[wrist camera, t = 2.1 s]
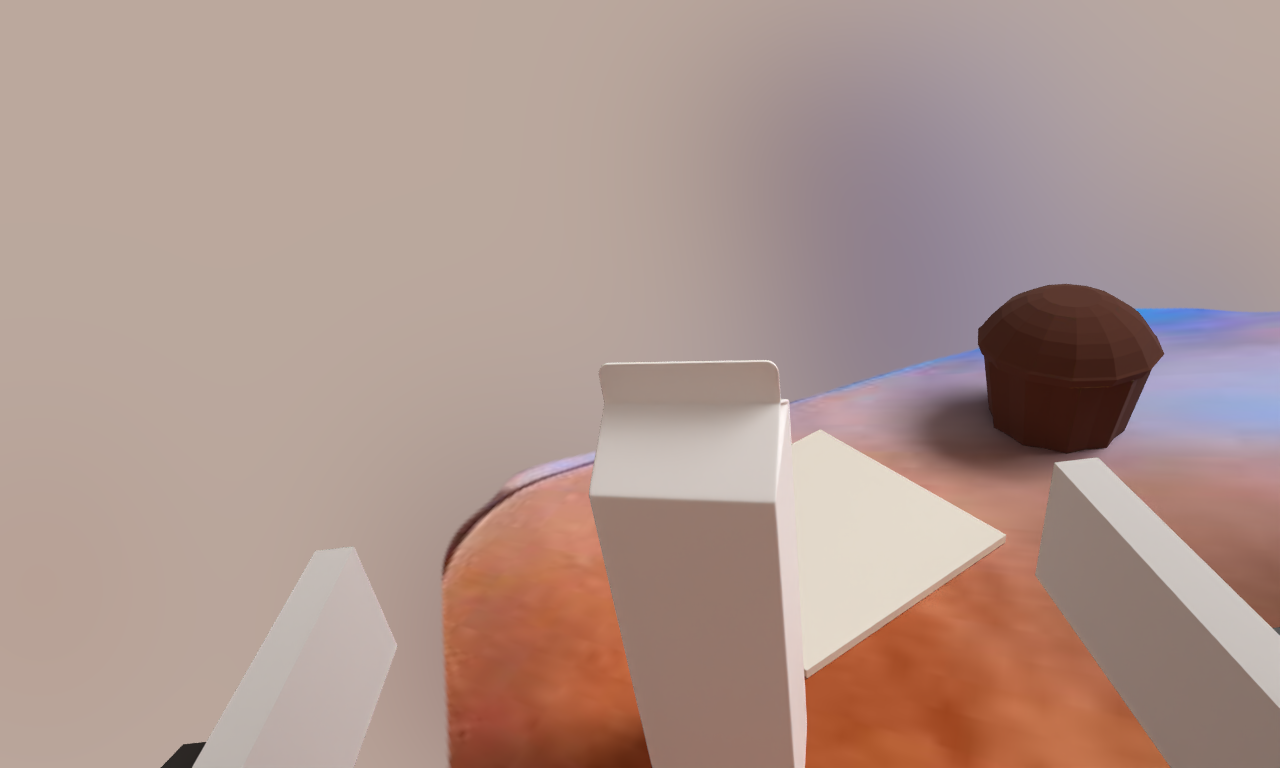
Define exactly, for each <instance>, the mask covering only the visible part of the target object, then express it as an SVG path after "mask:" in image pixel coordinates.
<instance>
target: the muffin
mask: <svg viewBox="0 0 1280 768" xmlns="http://www.w3.org/2000/svg"><path fill="white" fill-rule="evenodd" d="M978 345H979V348H980V350H981V353H982V354H983V355H984V360H985V371H986V381H987V392H988V402H989V409H990V411H991V414H992V416H993V422H994V428H996V429H998V430H1000V431H1002V432H1004V433H1005V434H1007V435H1009V436H1011V437H1012V438H1014V439H1015V440H1016V441H1018V442H1019V443H1021V444H1022V445H1025V446H1033V447H1040V448H1046V449H1050V450H1055V451H1059V452H1063V453H1071V452H1076V451H1081V450H1085V449H1097V448H1107V447H1108V445H1109V444H1110V443H1111V441H1112V440H1113V438H1115V437H1116V436H1118V435H1119V434H1120V433H1122V432H1123V431H1124V430H1125V428H1126V426H1127V423H1128V421H1129V419H1130V417H1131V414H1132V412H1133V410H1134V408H1135V405H1136V403H1137V401H1138V399H1139V397H1140V394H1141V392H1142V390H1143V388H1144V385H1145V383H1146V381H1147V379H1148V376H1149V374H1150V372H1151V370H1152V368H1153V367H1154V365H1155V364H1156V363H1157V362H1158V361H1159V360H1160V358H1161V357H1162V356H1163V355H1164V352H1163V350H1162V348H1161V345H1160V343H1159V341H1158V338H1157V336H1156V335H1155V334H1154V333H1153V331H1152V330H1151V328H1150V327H1149V325H1148V324H1147V322H1146V321H1145V320H1144V318H1143V317H1142V316H1141V315H1140V313H1139V312H1138V311H1136V310H1135V309H1134V308H1132V307H1131V306H1129V305H1128V304H1126V303H1124V302H1123V301H1121V300H1119V299H1118V298H1116V297H1114V296H1112V295H1110V294H1109V293H1107V292H1105V291H1102V290H1099V289H1095V288H1091V287H1088V286H1081V285H1071V284H1058V285H1047V286H1043V287H1039V288H1036V289H1033V290H1029V291H1026V292H1023V293H1020V294H1018V295H1016V296H1014V297H1012V298H1011V299H1010V300H1009V301H1007V302H1006V303H1005V304H1004V305H1003V306H1001V307H1000V308H999V309H998V310H997V311H996V312H995V313H993V314H992V315H991V316H990V317H989V318H988V320H987V321H986V322H985V323H984V324H983V325H982V326H981V327H980V328H979V329H978Z"/></svg>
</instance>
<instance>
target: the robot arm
mask: <svg viewBox="0 0 1280 768" xmlns="http://www.w3.org/2000/svg"><path fill="white" fill-rule="evenodd" d="M1035 575H1036V577H1037V578H1038V580H1039V581H1040V583H1041V584H1042V585H1043V587H1044V588H1045V590H1046V591H1047V593H1048V594H1049V595H1050V597H1051V598H1052V600H1053V601H1054V602H1055V604H1056V605H1057V607H1058V608H1059V610H1060V611H1061V612H1062V614H1063V615H1064V617H1065V618H1066V619H1067V621H1068V622H1069V624H1070V625H1071V627H1072V628H1073V629H1074V631H1075V632H1076V634H1077V635H1078V637H1079V638H1080V639H1081V641H1082V642H1083V644H1084V645H1085V646H1086V648H1087V649H1088V651H1089V652H1090V654H1091V655H1092V656H1093V658H1094V659H1095V661H1096V662H1097V664H1098V665H1099V666H1100V668H1101V669H1102V671H1103V672H1104V673H1105V675H1106V676H1107V678H1108V679H1109V681H1110V682H1111V683H1112V685H1113V686H1114V688H1115V689H1116V691H1117V692H1118V693H1119V695H1120V696H1121V698H1122V699H1123V700H1124V702H1125V703H1126V705H1127V706H1128V708H1129V709H1130V710H1131V712H1132V713H1133V715H1134V716H1135V718H1136V719H1137V720H1138V722H1139V723H1140V725H1141V726H1142V727H1143V729H1144V730H1145V732H1146V733H1147V735H1148V736H1149V737H1150V739H1151V740H1152V742H1153V743H1154V744H1155V746H1156V747H1157V749H1158V750H1159V752H1160V753H1161V754H1162V756H1163V757H1164V759H1165V760H1166V762H1167V763H1168V764H1169V766H1170V767H1171V768H1280V627H1278V628H1272V627H1271V626H1270V625H1269V624H1268V623H1266V622H1265V621H1264V620H1263V619H1262V618H1261V617H1260V616H1259V615H1258V614H1257V613H1256V612H1255V611H1254V610H1253V609H1252V608H1251V607H1250V606H1249V605H1248V604H1247V603H1246V602H1245V601H1244V600H1243V599H1242V598H1241V597H1240V596H1239V595H1238V594H1237V593H1236V592H1235V591H1234V590H1233V589H1232V588H1231V587H1230V586H1229V585H1228V584H1227V583H1226V582H1225V581H1224V580H1223V579H1222V578H1221V577H1219V576H1218V575H1217V574H1216V573H1215V572H1214V571H1213V570H1212V569H1211V568H1210V567H1209V566H1208V565H1207V564H1206V563H1205V562H1204V561H1203V560H1202V559H1201V558H1200V557H1199V556H1198V555H1197V554H1196V553H1195V552H1194V551H1193V550H1192V549H1191V548H1190V547H1189V546H1188V545H1187V544H1186V543H1185V542H1184V541H1183V540H1182V539H1181V538H1180V537H1179V536H1178V535H1177V534H1176V533H1175V532H1174V531H1173V530H1171V529H1170V528H1169V527H1168V526H1167V525H1166V524H1165V523H1164V522H1163V521H1162V520H1161V519H1160V518H1159V517H1158V516H1157V515H1156V514H1155V513H1154V512H1153V511H1152V510H1151V509H1150V508H1149V507H1148V506H1147V505H1146V504H1145V503H1144V502H1143V501H1142V500H1141V499H1140V498H1139V497H1138V496H1137V495H1136V494H1135V493H1134V492H1133V491H1132V490H1131V489H1130V488H1129V487H1128V486H1127V485H1126V484H1125V483H1123V482H1122V481H1121V480H1120V479H1119V478H1118V477H1117V476H1116V475H1115V474H1114V473H1113V472H1112V471H1111V470H1110V469H1109V468H1108V467H1107V466H1106V465H1105V464H1104V463H1103V462H1102V461H1101V460H1100V459H1099V458H1098V457H1097V458H1088V459H1080V460H1072V461H1063V462H1055V463H1054V468H1053V474H1052V480H1051V486H1050V492H1049V498H1048V503H1047V509H1046V515H1045V521H1044V527H1043V533H1042V539H1041V545H1040V550H1039V556H1038V562H1037V568H1036V574H1035ZM396 648H397V644H396V642H395V639H394V637H393V635H392V633H391V630H390V628H389V626H388V623H387V621H386V619H385V616H384V614H383V612H382V610H381V607H380V605H379V603H378V601H377V598H376V596H375V594H374V591H373V589H372V587H371V584H370V582H369V580H368V578H367V575H366V573H365V571H364V568H363V566H362V564H361V562H360V559H359V557H358V555H357V552H356V550H355V548H354V547H345V548H337V549H328V550H320V551H315V553H314V554H313V556H312V558H311V560H310V561H309V563H308V565H307V567H306V568H305V570H304V572H303V574H302V576H301V577H300V579H299V581H298V583H297V584H296V586H295V588H294V589H293V591H292V593H291V595H290V597H289V598H288V600H287V602H286V603H285V606H284V607H283V609H282V611H281V612H280V614H279V616H278V618H277V619H276V621H275V623H274V625H273V626H272V628H271V630H270V632H269V634H268V635H267V637H266V639H265V640H264V642H263V644H262V646H261V648H260V649H259V651H258V653H257V654H256V657H255V658H254V660H253V661H252V664H251V665H250V667H249V668H248V670H247V672H246V674H245V676H244V677H243V679H242V681H241V683H240V684H239V686H238V688H237V690H236V691H235V693H234V695H233V697H232V698H231V700H230V702H229V704H228V705H227V707H226V709H225V711H224V712H223V714H222V716H221V718H220V719H219V721H218V723H217V725H216V726H215V728H214V730H213V732H212V733H211V735H210V737H209V739H208V740H207V742H202V743H192V744H183V746H181V747H180V748H179V749H178V750H177V751H176V753H175V754H174V755H173V756H172V757H171V758H170V759H169V760H168V761H167V762H166V763H165V764H164V765H163V766H162V767H161V768H354V766H355V763H356V760H357V757H358V755H359V752H360V749H361V746H362V743H363V740H364V738H365V735H366V732H367V730H368V727H369V724H370V721H371V718H372V715H373V713H374V710H375V707H376V704H377V702H378V699H379V696H380V693H381V691H382V688H383V685H384V682H385V679H386V677H387V674H388V671H389V668H390V665H391V662H392V660H393V657H394V654H395V652H396Z"/></svg>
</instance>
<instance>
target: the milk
mask: <svg viewBox="0 0 1280 768" xmlns="http://www.w3.org/2000/svg"><path fill="white" fill-rule="evenodd" d="M599 378H600V383H601V388H602V393H603V398H604V409H603V415H602V421H601V426H600V432H599V438H598V444H597V449H596V455H595V460H594V466H593V472H592V477H591V483H590V489H589V498H590V502H591V507H592V511H593V515H594V519H595V524H596V528H597V532H598V537H599V541H600V545H601V550H602V554H603V558H604V563H605V567H606V571H607V576H608V580H609V584H610V588H611V593H612V597H613V601H614V606H615V610H616V614H617V619H618V623H619V627H620V632H621V636H622V640H623V644H624V649H625V653H626V657H627V662H628V666H629V670H630V675H631V679H632V683H633V688H634V692H635V696H636V701H637V705H638V709H639V713H640V718H641V722H642V726H643V731H644V735H645V739H646V744H647V748H648V752H649V757H650V761H651V765H652V768H805V755H806V734H807V716H806V698H805V680H804V662H803V644H802V626H801V608H800V590H799V572H798V554H797V536H796V518H795V500H794V482H793V464H792V446H791V428H790V410H789V400H787V399H781V396H780V381H779V371H778V368H777V366H776V365H775V364H774V363H773V362H771V361H768V360H750V361H749V360H747V361H690V362H633V363H606V364H604V365H602V366H601V368H600V370H599Z"/></svg>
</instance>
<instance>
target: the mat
mask: <svg viewBox="0 0 1280 768" xmlns="http://www.w3.org/2000/svg"><path fill="white" fill-rule="evenodd" d="M791 446H792V464H793V482H794V500H795V518H796V536H797V554H798V572H799V590H800V608H801V626H802V644H803V662H804V676H805V677H806V678H808V677H810V676H811V675H813V674H814V673H816V672H817V671H819V670H820V669H822V668H823V667H824V666H826V665H827V664H829V663H830V662H832V661H833V660H835V659H836V658H838V657H839V656H840V655H842V654H843V653H845V652H846V651H848V650H849V649H851V648H852V647H854V646H855V645H856V644H858V643H859V642H861V641H862V640H864V639H865V638H867V637H868V636H870V635H871V634H873V633H874V632H875V631H877V630H878V629H880V628H881V627H883V626H884V625H886V624H887V623H889V622H890V621H891V620H893V619H894V618H896V617H897V616H899V615H900V614H902V613H903V612H905V611H906V610H907V609H909V608H910V607H912V606H913V605H915V604H916V603H918V602H919V601H921V600H922V599H924V598H925V597H926V596H928V595H929V594H931V593H932V592H934V591H935V590H937V589H938V588H940V587H941V586H942V585H944V584H945V583H947V582H948V581H950V580H951V579H953V578H954V577H956V576H957V575H958V574H960V573H961V572H963V571H964V570H966V569H967V568H969V567H970V566H972V565H973V564H974V563H976V562H977V561H979V560H980V559H982V558H983V557H985V556H986V555H988V554H989V553H991V552H992V551H993V550H995V549H996V548H998V547H999V546H1001V545H1002V544H1004V543H1005V540H1006V535H1005V534H1004V533H1002V532H1000V531H998V530H997V529H995V528H993V527H991V526H989V525H988V524H986V523H984V522H982V521H981V520H979V519H977V518H975V517H974V516H972V515H970V514H968V513H967V512H965V511H963V510H961V509H959V508H958V507H956V506H954V505H952V504H951V503H949V502H947V501H945V500H944V499H942V498H940V497H938V496H937V495H935V494H933V493H931V492H930V491H928V490H926V489H924V488H922V487H921V486H919V485H917V484H915V483H914V482H912V481H910V480H908V479H907V478H905V477H903V476H901V475H900V474H898V473H896V472H894V471H892V470H891V469H889V468H887V467H885V466H884V465H882V464H880V463H878V462H877V461H875V460H873V459H871V458H870V457H868V456H866V455H864V454H862V453H861V452H859V451H857V450H855V449H854V448H852V447H850V446H848V445H847V444H845V443H843V442H841V441H840V440H838V439H836V438H834V437H833V436H831V435H829V434H827V433H825V432H824V431H822V430H818V431H816V432H814V433H812V434H810V435H808V436H806V437H805V438H803V439H801V440H799V441H797V442H795V443H793V444H791Z"/></svg>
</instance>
